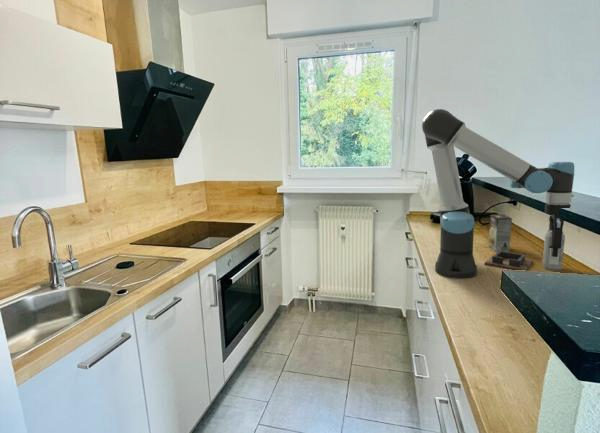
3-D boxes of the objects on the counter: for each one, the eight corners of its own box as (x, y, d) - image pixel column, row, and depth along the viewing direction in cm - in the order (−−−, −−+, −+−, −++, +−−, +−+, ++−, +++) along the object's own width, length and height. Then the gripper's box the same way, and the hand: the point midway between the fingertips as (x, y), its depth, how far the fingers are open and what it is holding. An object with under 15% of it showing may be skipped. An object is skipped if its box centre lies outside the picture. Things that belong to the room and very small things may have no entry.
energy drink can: (548, 264, 127) (551, 228, 124) (565, 269, 122) (569, 231, 119) (538, 267, 125) (541, 230, 122) (555, 272, 120) (559, 234, 117)
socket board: (524, 272, 121) (525, 263, 121) (484, 264, 131) (484, 256, 131) (532, 262, 131) (533, 254, 130) (494, 256, 141) (495, 248, 140)
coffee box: (487, 246, 155) (489, 214, 152) (502, 246, 154) (504, 214, 151) (495, 251, 146) (497, 218, 143) (510, 251, 145) (512, 218, 142)
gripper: (575, 207, 109) (569, 270, 113) (566, 199, 124) (560, 255, 129) (548, 207, 113) (542, 268, 117) (542, 199, 128) (538, 253, 133)
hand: (552, 261), depth 123 cm, fingers closed on energy drink can, 6 cm apart
